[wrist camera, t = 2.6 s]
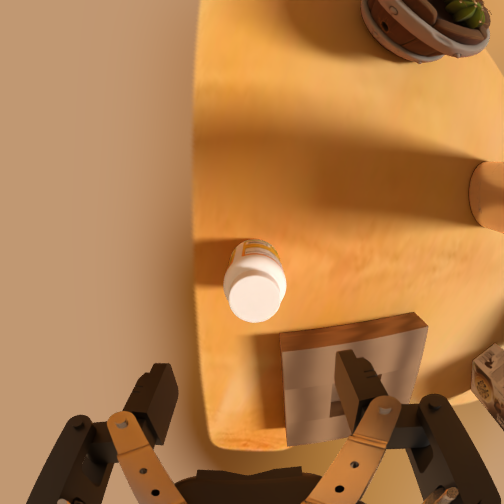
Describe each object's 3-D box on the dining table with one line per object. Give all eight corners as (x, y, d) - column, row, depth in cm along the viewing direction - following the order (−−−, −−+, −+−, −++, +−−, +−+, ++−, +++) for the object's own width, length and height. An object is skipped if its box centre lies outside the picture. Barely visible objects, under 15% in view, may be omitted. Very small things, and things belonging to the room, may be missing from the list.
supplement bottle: (247, 294, 32) (245, 341, 22) (219, 256, 31) (204, 290, 21) (289, 269, 31) (303, 308, 22) (262, 228, 30) (265, 252, 20)
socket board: (414, 312, 32) (428, 326, 28) (393, 406, 37) (402, 423, 33) (279, 333, 33) (282, 352, 29) (285, 427, 38) (287, 446, 34)
